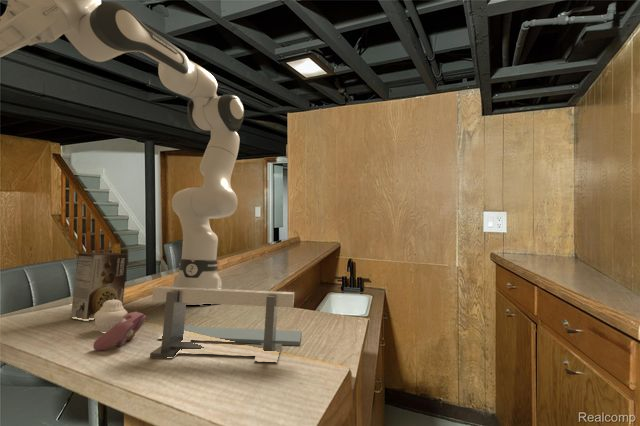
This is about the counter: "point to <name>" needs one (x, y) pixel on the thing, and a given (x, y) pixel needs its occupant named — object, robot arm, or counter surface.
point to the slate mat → (247, 335)
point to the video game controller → (121, 331)
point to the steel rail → (224, 296)
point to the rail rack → (173, 344)
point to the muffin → (109, 315)
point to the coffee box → (97, 282)
